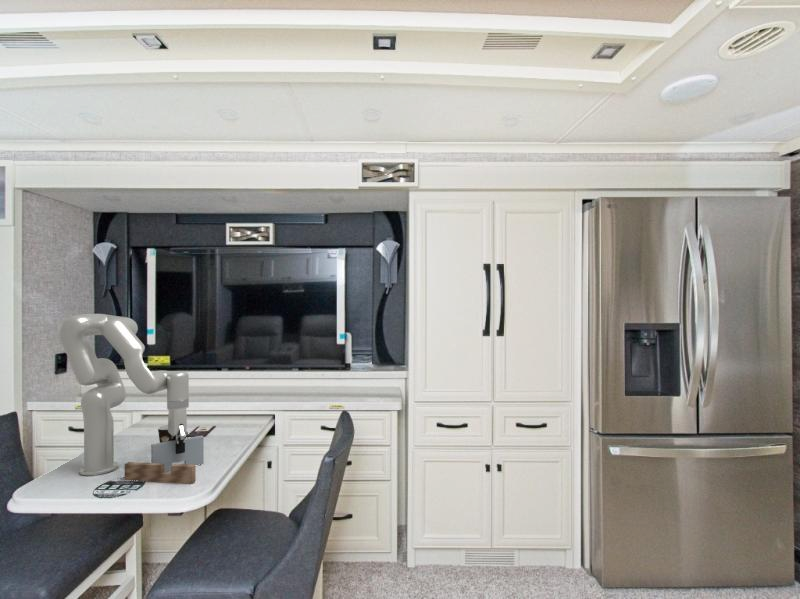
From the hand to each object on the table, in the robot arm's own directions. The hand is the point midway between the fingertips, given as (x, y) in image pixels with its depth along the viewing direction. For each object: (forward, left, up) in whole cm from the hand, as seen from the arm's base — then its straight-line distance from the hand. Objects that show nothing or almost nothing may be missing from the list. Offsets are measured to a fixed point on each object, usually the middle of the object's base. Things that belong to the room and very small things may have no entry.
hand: (178, 450), depth 178 cm
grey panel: (0, 0, -7) cm, 7 cm away
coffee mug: (-26, +3, -7) cm, 27 cm away
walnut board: (+9, -8, -7) cm, 14 cm away
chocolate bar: (-48, +21, -8) cm, 53 cm away
